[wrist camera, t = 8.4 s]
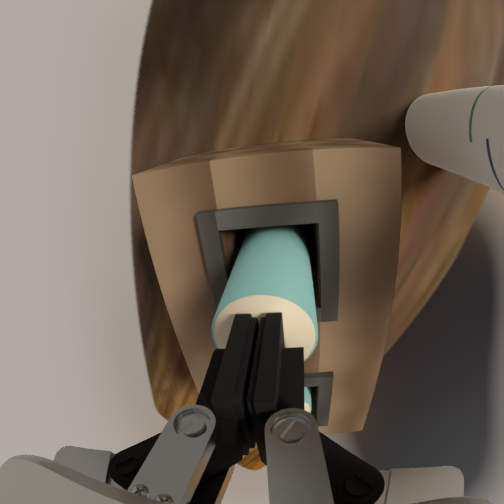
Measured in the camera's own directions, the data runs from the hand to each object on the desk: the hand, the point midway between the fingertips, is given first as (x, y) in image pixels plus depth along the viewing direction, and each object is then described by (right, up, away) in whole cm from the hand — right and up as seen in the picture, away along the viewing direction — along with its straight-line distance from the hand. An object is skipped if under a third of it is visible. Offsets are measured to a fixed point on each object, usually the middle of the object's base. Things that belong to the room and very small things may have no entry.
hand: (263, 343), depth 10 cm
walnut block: (+3, +2, +18) cm, 19 cm away
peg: (+1, +5, +11) cm, 12 cm away
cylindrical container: (+17, +15, +11) cm, 25 cm away
